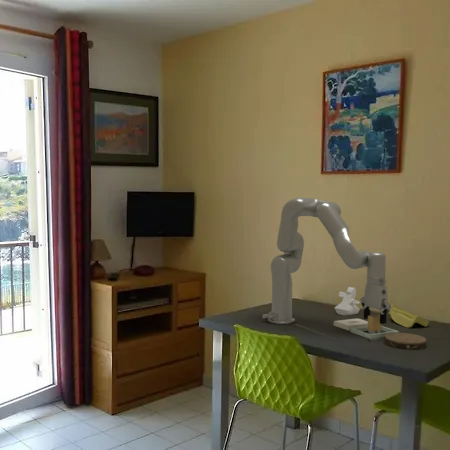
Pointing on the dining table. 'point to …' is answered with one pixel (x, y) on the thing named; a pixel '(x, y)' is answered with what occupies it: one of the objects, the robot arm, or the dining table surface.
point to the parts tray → (370, 336)
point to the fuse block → (351, 323)
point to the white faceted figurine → (348, 303)
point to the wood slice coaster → (405, 341)
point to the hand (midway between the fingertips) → (374, 321)
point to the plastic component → (406, 317)
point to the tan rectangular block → (374, 324)
